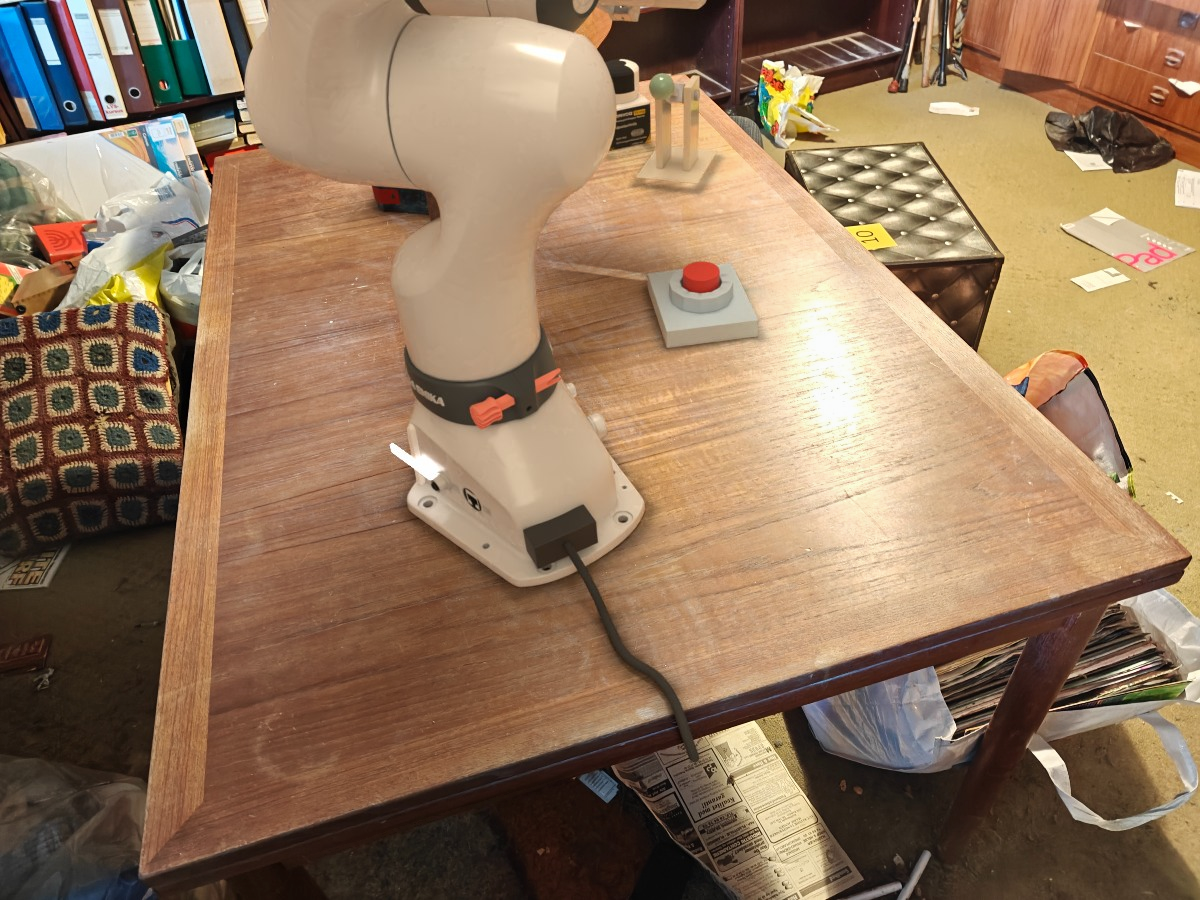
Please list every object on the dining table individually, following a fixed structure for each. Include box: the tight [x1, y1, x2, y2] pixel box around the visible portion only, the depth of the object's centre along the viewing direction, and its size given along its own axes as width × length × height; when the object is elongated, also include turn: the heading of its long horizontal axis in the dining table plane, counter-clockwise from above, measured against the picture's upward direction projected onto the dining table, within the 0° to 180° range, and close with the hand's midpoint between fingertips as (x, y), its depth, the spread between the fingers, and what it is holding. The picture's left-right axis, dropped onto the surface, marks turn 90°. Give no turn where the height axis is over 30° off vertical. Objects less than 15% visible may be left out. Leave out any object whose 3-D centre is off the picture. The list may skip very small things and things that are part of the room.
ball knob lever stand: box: [635, 73, 718, 185], centre depth 119 cm, size 11×9×13 cm
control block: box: [646, 262, 760, 349], centre depth 95 cm, size 12×10×4 cm
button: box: [682, 260, 720, 293], centre depth 94 cm, size 4×4×2 cm
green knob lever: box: [648, 72, 686, 106], centre depth 112 cm, size 11×3×3 cm, turn 160°
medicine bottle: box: [604, 58, 652, 152], centre depth 127 cm, size 7×7×12 cm
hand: (626, 14), depth 92 cm, fingers closed
